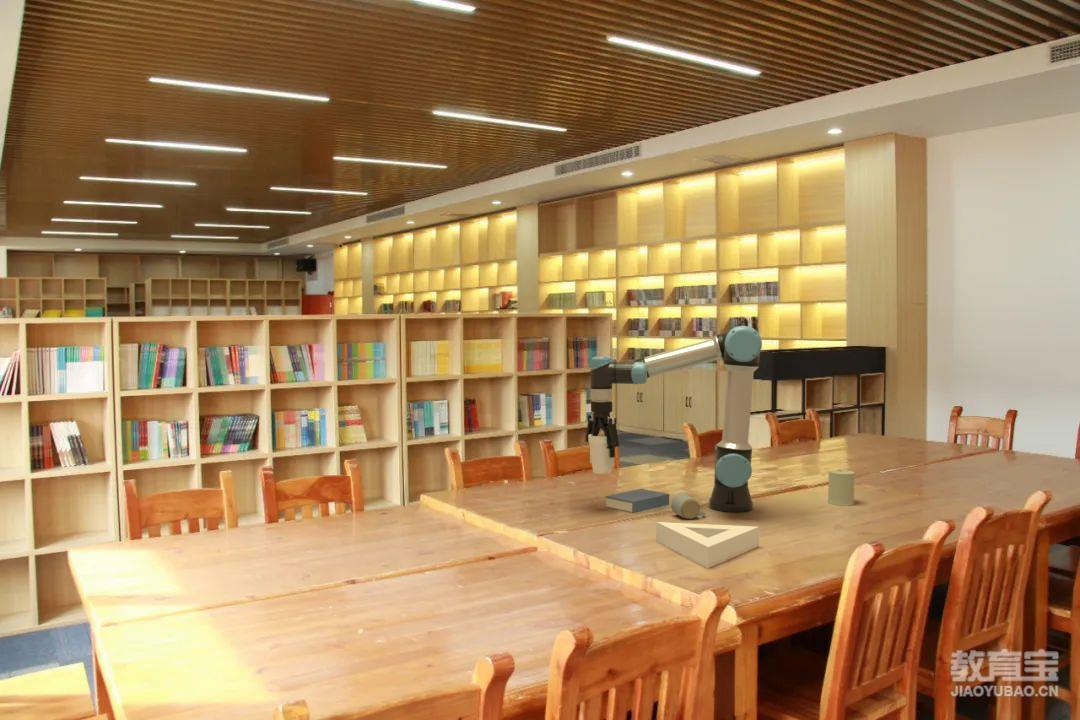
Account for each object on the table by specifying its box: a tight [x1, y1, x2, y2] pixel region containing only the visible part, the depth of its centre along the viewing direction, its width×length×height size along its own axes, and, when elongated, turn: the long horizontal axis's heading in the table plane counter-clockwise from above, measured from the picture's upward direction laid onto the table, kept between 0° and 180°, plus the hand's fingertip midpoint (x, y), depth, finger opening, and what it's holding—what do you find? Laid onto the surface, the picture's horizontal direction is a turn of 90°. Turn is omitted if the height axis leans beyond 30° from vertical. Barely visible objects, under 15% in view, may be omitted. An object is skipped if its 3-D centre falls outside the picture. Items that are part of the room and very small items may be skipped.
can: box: [827, 469, 856, 507], centre depth 307 cm, size 9×9×12 cm
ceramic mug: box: [670, 492, 706, 520], centre depth 284 cm, size 11×8×8 cm
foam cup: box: [587, 432, 613, 475], centre depth 293 cm, size 10×9×13 cm
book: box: [605, 488, 670, 514], centre depth 301 cm, size 13×20×4 cm, turn 134°
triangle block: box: [655, 521, 760, 569], centre depth 243 cm, size 30×26×6 cm
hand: (602, 464), depth 293 cm, fingers closed on foam cup, 9 cm apart
